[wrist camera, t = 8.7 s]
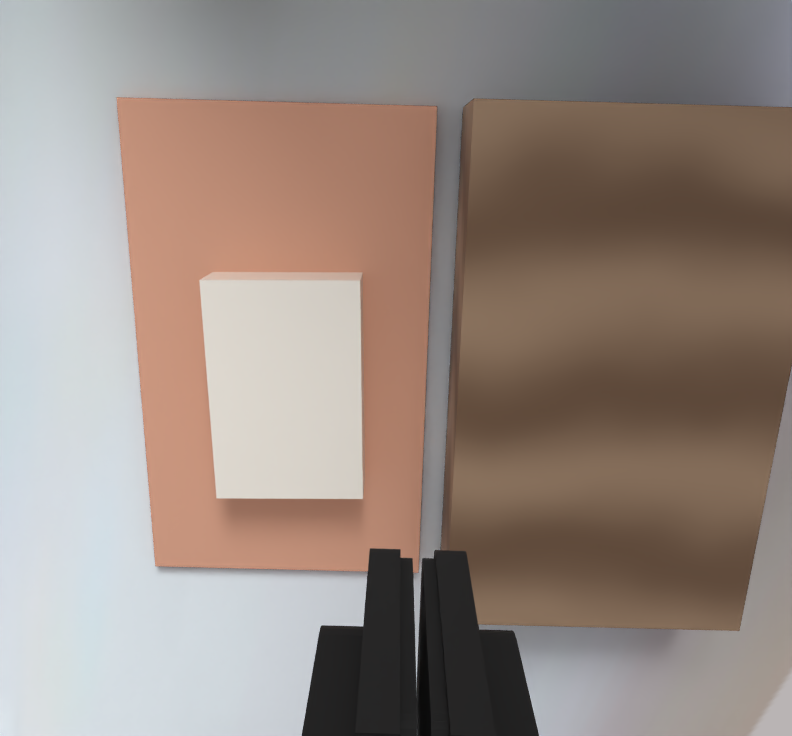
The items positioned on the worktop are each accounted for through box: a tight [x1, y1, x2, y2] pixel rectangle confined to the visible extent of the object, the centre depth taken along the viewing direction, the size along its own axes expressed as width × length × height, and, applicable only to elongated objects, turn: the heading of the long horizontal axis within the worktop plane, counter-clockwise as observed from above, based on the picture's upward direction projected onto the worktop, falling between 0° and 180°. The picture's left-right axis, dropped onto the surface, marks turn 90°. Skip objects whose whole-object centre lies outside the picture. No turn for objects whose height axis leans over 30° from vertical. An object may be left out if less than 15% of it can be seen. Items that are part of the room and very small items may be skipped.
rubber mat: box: [117, 97, 437, 573], centre depth 29 cm, size 20×12×1 cm, turn 178°
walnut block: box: [441, 99, 792, 631], centre depth 27 cm, size 20×12×4 cm, turn 178°
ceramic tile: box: [199, 272, 365, 499], centre depth 28 cm, size 9×6×2 cm, turn 0°
